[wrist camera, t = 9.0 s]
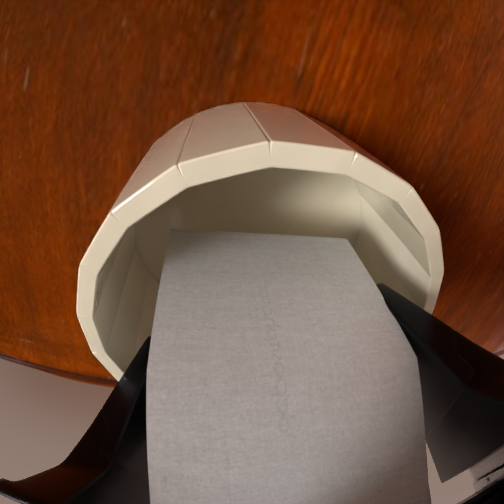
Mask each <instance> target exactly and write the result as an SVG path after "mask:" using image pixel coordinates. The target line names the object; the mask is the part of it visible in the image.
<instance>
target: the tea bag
mask: <svg viewBox="0 0 504 504" xmlns="http://www.w3.org/2000/svg"><path fill="white" fill-rule="evenodd" d="M146 430H147V458H148V476H149V491H150V504H431V497H430V490H429V484H428V469H427V456H426V442H425V425H424V412H423V401H422V392H421V383H420V375H419V368H418V361H417V357H416V355H415V353H414V351H413V349H412V347H411V345H410V344H409V342H408V340H407V338H406V336H405V334H404V333H403V331H402V329H401V327H400V325H399V324H398V322H397V320H396V319H395V317H394V316H393V315H392V313H391V312H390V310H389V309H388V307H387V305H386V303H385V301H384V298H383V296H382V294H381V292H380V291H379V289H378V287H377V286H376V284H375V282H374V281H373V279H372V278H371V276H370V274H369V273H368V271H367V269H366V268H365V266H364V265H363V263H362V262H361V260H360V258H359V257H358V255H357V254H356V252H355V251H354V249H353V247H352V246H351V244H350V243H349V241H348V240H347V239H343V238H328V237H312V236H296V235H279V234H261V233H242V232H222V231H201V230H178V229H171V230H170V234H169V239H168V244H167V249H166V254H165V259H164V264H163V269H162V274H161V280H160V285H159V291H158V297H157V303H156V309H155V315H154V322H153V328H152V335H151V342H150V350H149V357H148V365H147V380H146Z"/></svg>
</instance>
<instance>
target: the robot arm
mask: <svg viewBox="0 0 504 504" xmlns="http://www.w3.org/2000/svg"><path fill="white" fill-rule="evenodd" d="M376 286H377V287H378V289H379V291H380V292H381V294H382V296H383V298H384V301H385V303H386V305H387V307H388V309H389V310H390V312H391V313H392V315H393V316H394V317H395V319H396V320H397V322H398V324H399V325H400V327H401V329H402V331H403V333H404V334H405V336H406V338H407V340H408V342H409V344H410V345H411V347H412V349H413V351H414V353H415V355H416V357H417V361H418V368H419V375H420V383H421V392H422V401H423V412H424V425H425V440H426V442H427V445H428V447H429V450H430V453H431V455H432V458H433V461H434V463H435V466H436V469H437V472H438V474H439V477H440V480H441V482H442V483H443V482H445V481H447V480H449V479H451V478H453V477H455V476H457V475H458V474H460V473H462V472H464V471H465V470H467V469H469V470H470V473H471V476H472V478H473V481H474V483H473V486H474V489H475V493H474V494H473V495H471V496H469V497H468V498H466V499H464V500H463V501H461V502H459V503H457V504H504V359H502V358H500V357H498V356H497V355H495V354H493V353H491V352H489V351H487V350H486V349H484V348H482V347H480V346H479V345H477V344H475V343H473V342H472V341H470V340H469V339H467V338H466V337H464V336H463V335H461V334H460V333H458V332H457V331H454V330H453V329H452V328H451V327H449V326H448V325H446V324H445V323H443V322H442V321H440V320H439V319H437V318H436V317H434V316H433V315H431V314H430V313H428V312H427V311H425V310H424V309H422V308H421V307H419V306H418V305H416V304H415V303H413V302H412V301H410V300H408V299H407V298H405V297H404V296H402V295H401V294H399V293H398V292H396V291H394V290H393V289H391V288H390V287H388V286H387V285H385V284H383V283H378V284H376ZM150 342H151V336H148V337H147V339H146V340H145V342H144V343H143V345H142V346H141V348H140V349H139V351H138V352H137V354H136V355H135V357H134V358H133V360H132V361H131V363H130V365H129V366H128V368H127V369H126V371H125V372H124V374H123V375H122V377H121V379H120V380H119V382H118V383H117V385H116V386H115V388H114V390H113V391H112V393H111V394H110V396H109V398H108V399H107V401H106V402H105V404H104V406H103V408H102V409H101V410H100V412H99V414H98V415H97V417H96V418H95V420H94V422H93V423H92V424H91V426H90V427H89V429H88V430H87V432H86V433H85V434H84V436H83V437H82V439H81V440H80V442H78V444H77V445H76V447H75V448H74V449H73V451H72V452H71V453H70V454H69V456H68V457H67V458H66V460H64V461H63V462H62V463H61V464H60V465H58V466H56V467H54V468H51V469H49V470H46V471H44V472H41V473H39V474H36V475H34V476H31V477H28V478H26V479H23V480H20V481H9V480H6V479H0V494H1V495H3V496H5V497H7V498H10V499H12V500H14V501H16V502H19V503H21V504H150V491H149V476H148V458H147V430H146V380H147V365H148V357H149V350H150Z"/></svg>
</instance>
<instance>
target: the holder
mask: <svg viewBox="0 0 504 504" xmlns="http://www.w3.org/2000/svg"><path fill="white" fill-rule="evenodd" d="M171 229H178V230H201V231H222V232H242V233H261V234H279V235H296V236H312V237H328V238H343V239H347V240H348V241H349V243H350V244H351V246H352V247H353V249H354V251H355V252H356V254H357V255H358V257H359V258H360V260H361V262H362V263H363V265H364V266H365V268H366V269H367V271H368V273H369V274H370V276H371V278H372V279H373V281H374V282H375V284H378V283H383V284H385V285H387V286H388V287H390V288H391V289H393V290H394V291H396V292H398V293H399V294H401V295H402V296H404V297H405V298H407V299H408V300H410V301H412V302H413V303H415V304H416V305H418V306H419V307H421V308H422V309H424V310H425V311H427V312H428V313H430V314H432V313H433V310H434V308H435V304H436V301H437V298H438V294H439V290H440V287H441V283H442V279H443V275H444V262H443V253H442V244H441V236H440V230H439V227H438V225H437V223H436V222H435V220H434V219H433V217H432V215H431V214H430V212H429V210H428V209H427V207H426V206H425V204H424V203H423V201H422V199H421V198H420V196H419V195H418V193H417V192H416V190H415V189H414V187H413V186H411V185H410V184H409V183H408V182H407V181H406V180H404V179H403V178H402V177H401V176H399V175H398V174H397V173H395V172H394V171H393V170H392V169H390V168H389V167H388V166H386V165H385V164H383V163H382V162H381V161H379V160H378V159H377V158H375V157H374V156H373V155H371V154H370V153H368V152H367V151H365V150H364V149H363V148H361V147H360V146H358V145H357V144H355V143H354V142H352V141H351V140H349V139H348V138H346V137H345V136H343V135H342V134H340V133H339V132H337V131H336V130H334V129H333V128H331V127H329V126H328V125H326V124H324V123H322V122H320V121H318V120H316V119H314V118H312V117H311V116H309V115H306V114H304V113H302V112H300V111H298V110H296V109H293V108H290V107H284V106H281V105H277V104H269V103H261V102H243V103H233V104H227V105H222V106H217V107H214V108H211V109H208V110H205V111H202V112H199V113H197V114H195V115H193V116H191V117H189V118H187V119H185V120H183V121H182V122H180V123H179V124H177V125H176V126H174V127H173V128H172V129H170V130H169V131H167V132H166V133H165V134H164V135H163V136H162V137H160V138H159V139H157V141H156V142H154V144H153V145H152V146H151V148H150V149H149V151H148V152H147V153H146V155H145V156H144V157H143V159H142V160H141V162H140V163H139V165H138V166H137V167H136V169H135V170H134V172H133V173H132V175H131V176H130V178H129V179H128V181H127V182H126V184H125V185H124V187H123V189H122V190H121V192H120V193H119V195H118V197H117V198H116V200H115V201H114V203H113V205H112V206H111V208H110V210H109V211H108V213H107V215H106V216H105V218H104V220H103V222H102V223H101V225H100V227H99V229H98V230H97V232H96V234H95V236H94V237H93V239H92V241H91V243H90V245H89V247H88V249H87V250H86V252H85V254H84V256H83V258H82V260H81V262H80V266H79V272H78V287H77V308H76V312H77V316H78V319H79V322H80V324H81V327H82V329H83V332H84V334H85V337H86V339H87V342H88V344H89V346H90V349H91V351H92V353H93V354H94V356H95V357H96V358H97V359H98V360H99V361H100V362H101V363H102V365H103V366H104V367H105V368H106V369H107V370H108V371H109V372H110V373H111V374H112V375H113V376H114V377H115V378H116V379H117V380H118V381H119V380H120V379H121V377H122V375H123V374H124V372H125V371H126V369H127V368H128V366H129V365H130V363H131V361H132V360H133V358H134V357H135V355H136V354H137V352H138V351H139V349H140V348H141V346H142V345H143V343H144V342H145V340H146V339H147V337H148V336H151V335H152V328H153V322H154V315H155V309H156V303H157V297H158V291H159V285H160V280H161V274H162V269H163V264H164V259H165V254H166V249H167V244H168V239H169V234H170V230H171Z"/></svg>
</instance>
